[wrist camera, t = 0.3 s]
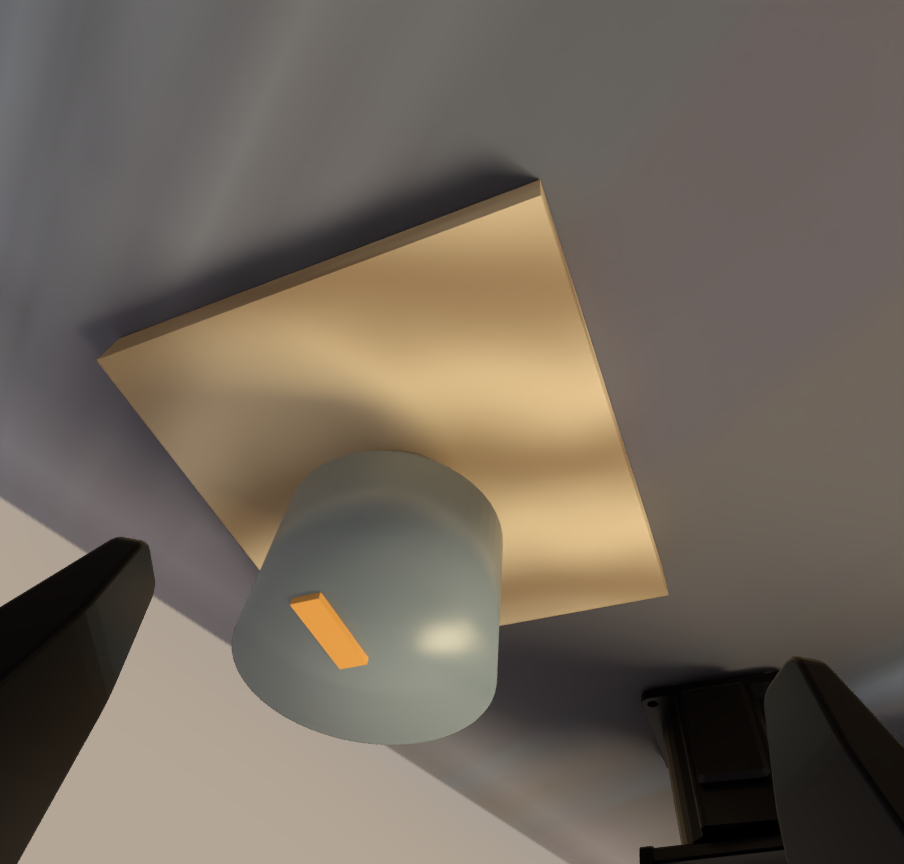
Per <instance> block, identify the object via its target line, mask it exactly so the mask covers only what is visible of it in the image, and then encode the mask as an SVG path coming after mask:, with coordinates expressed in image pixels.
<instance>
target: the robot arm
mask: <svg viewBox="0 0 904 864" xmlns="http://www.w3.org/2000/svg"><path fill="white" fill-rule="evenodd" d="M154 588H155V578H154V572H153V566H152V560H151V555H150V549H149V546H148V544H147V543H146V542H144V541H142V540H136V539H130V538H125V537H116V538H114V539H111V540H109V541H108V542H106V543H104V544H103V545H101V546H100V547H98V548H96V549H95V550H93V551H91V552H90V553H88V554H86V555H85V556H83V557H82V558H80V559H78V560H77V561H75V562H73V563H72V564H70V565H68V566H67V567H65V568H64V569H62V570H60V571H59V572H57V573H55V574H54V575H52V576H50V577H49V578H47V579H45V580H44V581H42V582H41V583H39V584H37V585H36V586H34V587H32V588H31V589H29V590H27V591H26V592H24V593H23V594H21V595H19V596H18V597H16V598H14V599H13V600H11V601H9V602H8V603H6V604H5V605H3V606H1V607H0V864H17V863H18V861H19V860H20V858H21V856H22V854H23V852H24V851H25V848H26V847H27V845H28V843H29V842H30V840H31V838H32V836H33V835H34V833H35V831H36V829H37V827H38V825H39V824H40V822H41V820H42V818H43V816H44V815H45V813H46V811H47V809H48V807H49V806H50V804H51V802H52V800H53V799H54V797H55V795H56V793H57V791H58V790H59V787H60V786H61V784H62V783H63V781H64V779H65V777H66V775H67V774H68V772H69V770H70V768H71V766H72V764H73V763H74V761H75V759H76V757H77V756H78V754H79V752H80V750H81V748H82V746H83V745H84V743H85V741H86V740H87V738H88V736H89V734H90V732H91V730H92V729H93V727H94V725H95V723H96V722H97V720H98V718H99V716H100V714H101V712H102V711H103V709H104V707H105V705H106V703H107V701H108V699H109V697H110V694H111V693H112V690H113V688H114V686H115V684H116V681H117V679H118V677H119V674H120V672H121V670H122V667H123V665H124V662H125V660H126V658H127V655H128V653H129V651H130V648H131V646H132V644H133V641H134V639H135V637H136V634H137V632H138V630H139V627H140V624H141V622H142V620H143V618H144V615H145V613H146V610H147V608H148V606H149V604H150V601H151V599H152V596H153V593H154ZM641 702H642V707H643V709H644V712H645V714H646V716H647V719H648V721H649V724H650V726H651V729H652V731H653V734H654V736H655V739H656V741H657V744H658V746H659V749H660V751H661V754H662V756H663V759H664V761H665V764H666V766H667V768H668V769H669V775H670V780H671V786H672V792H673V798H674V804H675V809H676V815H677V821H678V827H679V833H680V839H681V844H682V845H676V846H668V847H659V848H654V847H653V846H647V847H640V864H904V747H903V746H902V745H901V744H900V742H899V741H898V740H897V739H896V738H895V737H894V736H893V735H892V734H891V733H890V732H889V731H888V730H887V729H886V727H885V726H884V725H883V724H882V723H881V722H880V721H879V720H878V719H877V718H876V717H875V716H874V715H873V713H872V712H871V711H870V710H869V709H868V708H867V707H866V706H865V705H864V704H863V703H862V702H861V701H860V700H859V698H858V697H857V696H856V695H855V694H854V693H853V692H852V691H851V690H850V689H849V688H848V687H847V686H846V685H845V683H844V682H843V681H842V680H841V679H840V678H839V677H838V676H837V675H836V674H835V673H834V672H833V671H832V670H831V668H830V667H828V666H827V665H826V664H825V663H823V662H821V661H819V660H814V659H808V658H803V657H792V658H790V659H788V660H787V661H786V663H785V664H784V666H783V667H782V668H781V670H780V671H779V672H774V673H767V674H760V675H753V676H746V677H739V678H732V679H725V680H718V681H711V682H704V683H697V684H690V685H683V686H676V687H669V688H662V689H655V690H648V691H645V692H643V693H642V694H641Z"/></svg>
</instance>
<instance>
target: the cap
mask: <svg viewBox="0 0 904 864" xmlns="http://www.w3.org/2000/svg"><path fill="white" fill-rule="evenodd" d="M502 552H503V534H502V529H501V524H500V521H499V519H498V516H497V514H496V512H495V510H494V508H493V507H492V505H491V503H490V502H489V501H488V499H487V498H486V497H485V495H484V494H483V493H482V492H481V491H480V490H479V489H478V488H477V487H476V486H475V485H474V484H473V483H472V482H470V481H469V480H468V479H466V478H465V477H464V476H462V475H461V474H459V473H458V472H456V471H454V470H452V469H451V468H449V467H447V466H445V465H443V464H440V463H438V462H436V461H433V460H430V459H427V458H424V457H421V456H417V455H413V454H408V453H403V452H394V451H367V452H358V453H353V454H349V455H344V456H342V457H339V458H336V459H333V460H331V461H329V462H327V463H325V464H323V465H321V466H319V467H318V468H316V469H315V470H314V471H312V472H311V473H310V474H309V475H308V476H306V477H305V478H304V479H303V480H302V482H301V483H300V484H299V486H298V487H297V488H296V490H295V492H294V494H293V496H292V498H291V500H290V502H289V505H288V507H287V509H286V512H285V514H284V516H283V519H282V521H281V523H280V525H279V528H278V530H277V532H276V535H275V537H274V539H273V542H272V544H271V546H270V548H269V551H268V553H267V555H266V558H265V560H264V562H263V565H262V567H261V569H260V571H259V574H258V576H257V578H256V581H255V583H254V585H253V588H252V590H251V592H250V594H249V597H248V599H247V601H246V604H245V606H244V608H243V611H242V613H241V615H240V617H239V620H238V622H237V624H236V627H235V629H234V633H233V637H232V654H233V659H234V662H235V665H236V667H237V670H238V672H239V674H240V675H241V677H242V679H243V680H244V682H245V683H246V684H247V685H248V687H249V688H250V689H251V690H252V692H254V694H256V695H257V696H258V697H259V698H260V699H261V700H262V701H263V702H264V703H266V704H267V705H268V706H270V707H271V708H272V709H273V710H275V711H276V712H278V713H280V714H281V715H283V716H284V717H286V718H288V719H290V720H292V721H294V722H296V723H297V724H300V725H302V726H304V727H307V728H309V729H311V730H314V731H317V732H320V733H322V734H325V735H329V736H332V737H336V738H340V739H344V740H349V741H354V742H361V743H368V744H381V745H404V744H415V743H421V742H427V741H432V740H436V739H439V738H443V737H446V736H448V735H451V734H454V733H456V732H458V731H460V730H462V729H464V728H466V727H467V726H469V725H470V724H472V723H473V722H474V721H476V720H477V719H478V718H479V717H480V716H481V715H482V714H483V713H484V712H485V711H486V709H487V708H488V706H489V705H490V704H491V701H492V699H493V697H494V694H495V690H496V685H497V668H498V644H499V621H500V598H501V575H502Z"/></svg>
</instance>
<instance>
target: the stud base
mask: <svg viewBox="0 0 904 864" xmlns="http://www.w3.org/2000/svg"><path fill="white" fill-rule="evenodd" d="M97 362H98V363H99V364H100V366H101V367H102V368H103V369H104V371H105V372H106V373H107V375H108V376H109V377H110V378H111V380H112V381H113V382H114V384H115V385H116V386H117V387H118V389H119V390H120V391H121V393H122V394H123V395H124V396H125V398H126V399H127V400H128V402H129V403H130V404H131V405H132V407H133V408H134V409H135V411H136V412H137V413H138V414H139V416H140V417H141V418H142V420H143V421H144V422H145V423H146V425H147V426H148V427H149V429H150V430H151V431H152V432H153V434H154V435H155V436H156V438H157V439H158V440H159V441H160V443H161V444H162V445H163V447H164V448H165V449H166V450H167V452H168V453H169V454H170V456H171V457H172V458H173V459H174V461H175V462H176V463H177V465H178V466H179V467H180V468H181V470H182V471H183V472H184V474H185V475H186V476H187V477H188V479H189V480H190V481H191V483H192V484H193V485H194V486H195V488H196V489H197V490H198V492H199V493H200V494H201V495H202V497H203V498H204V499H205V501H206V502H207V503H208V504H209V506H210V507H211V508H212V510H213V511H214V512H215V513H216V515H217V516H218V517H219V519H220V520H221V521H222V522H223V524H224V525H225V526H226V528H227V529H228V530H229V532H230V533H231V534H232V535H233V537H234V538H235V539H236V541H237V542H238V543H239V544H240V546H241V547H242V548H243V550H244V551H245V552H246V553H247V555H248V556H249V557H250V559H251V560H252V561H253V562H254V564H255V565H256V566H257V568H258V569H259V570H260V569H261V567H262V565H263V562H264V560H265V558H266V555H267V553H268V551H269V548H270V546H271V544H272V542H273V539H274V537H275V535H276V532H277V530H278V528H279V525H280V523H281V521H282V519H283V516H284V514H285V512H286V509H287V507H288V505H289V502H290V500H291V498H292V496H293V494H294V492H295V490H296V488H297V487H298V486H299V484H300V483H301V482H302V480H303V479H304V478H305V477H306V476H308V475H309V474H310V473H311V472H312V471H314V470H315V469H316V468H318V467H319V466H321V465H323V464H325V463H327V462H329V461H331V460H333V459H336V458H339V457H342V456H344V455H349V454H353V453H358V452H367V451H394V452H403V453H408V454H413V455H417V456H421V457H424V458H427V459H430V460H433V461H436V462H438V463H440V464H443V465H445V466H447V467H449V468H451V469H452V470H454V471H456V472H458V473H459V474H461V475H462V476H464V477H465V478H466V479H468V480H469V481H470V482H472V483H473V484H474V485H475V486H476V487H477V488H478V489H479V490H480V491H481V492H482V493H483V494H484V495H485V497H486V498H487V499H488V501H489V502H490V503H491V505H492V507H493V508H494V510H495V512H496V514H497V516H498V519H499V521H500V524H501V529H502V534H503V552H502V575H501V598H500V621H499V626H501V625H507V624H512V623H518V622H523V621H529V620H534V619H540V618H545V617H551V616H556V615H562V614H567V613H573V612H578V611H584V610H589V609H595V608H600V607H606V606H611V605H617V604H622V603H628V602H633V601H639V600H645V599H650V598H656V597H661V596H667V595H668V590H667V586H666V581H665V577H664V572H663V568H662V564H661V561H660V558H659V554H658V551H657V548H656V545H655V542H654V539H653V535H652V532H651V529H650V526H649V523H648V520H647V516H646V513H645V510H644V507H643V504H642V501H641V497H640V494H639V491H638V488H637V485H636V482H635V478H634V475H633V472H632V469H631V466H630V463H629V459H628V456H627V453H626V450H625V447H624V444H623V440H622V437H621V434H620V431H619V428H618V425H617V421H616V418H615V415H614V412H613V409H612V406H611V403H610V399H609V396H608V393H607V390H606V387H605V384H604V380H603V377H602V374H601V371H600V368H599V365H598V361H597V358H596V355H595V352H594V349H593V346H592V342H591V339H590V336H589V333H588V330H587V327H586V323H585V320H584V317H583V314H582V311H581V308H580V304H579V301H578V298H577V295H576V292H575V289H574V285H573V282H572V279H571V276H570V273H569V270H568V266H567V263H566V260H565V257H564V254H563V251H562V247H561V244H560V241H559V238H558V235H557V232H556V228H555V225H554V222H553V219H552V216H551V213H550V209H549V206H548V203H547V200H546V197H545V194H544V190H543V187H542V184H541V181H540V180H537V181H535V182H532V183H529V184H527V185H524V186H522V187H519V188H516V189H514V190H511V191H508V192H506V193H503V194H500V195H498V196H495V197H492V198H490V199H487V200H484V201H482V202H479V203H477V204H474V205H471V206H469V207H466V208H463V209H461V210H458V211H455V212H453V213H450V214H447V215H445V216H442V217H439V218H437V219H434V220H432V221H429V222H426V223H424V224H421V225H418V226H416V227H413V228H410V229H408V230H405V231H402V232H400V233H397V234H394V235H392V236H389V237H387V238H384V239H381V240H379V241H376V242H373V243H371V244H368V245H365V246H363V247H360V248H357V249H355V250H352V251H350V252H347V253H344V254H342V255H339V256H336V257H334V258H331V259H328V260H326V261H323V262H320V263H318V264H315V265H312V266H310V267H307V268H305V269H302V270H299V271H297V272H294V273H291V274H289V275H286V276H283V277H281V278H278V279H275V280H273V281H270V282H267V283H265V284H262V285H260V286H257V287H254V288H252V289H249V290H246V291H244V292H241V293H238V294H236V295H233V296H230V297H228V298H225V299H222V300H220V301H217V302H215V303H212V304H209V305H207V306H204V307H201V308H199V309H196V310H193V311H191V312H188V313H185V314H183V315H180V316H177V317H175V318H172V319H170V320H167V321H164V322H162V323H159V324H156V325H154V326H151V327H148V328H146V329H143V330H140V331H138V332H135V333H132V334H130V335H127V336H125V337H122V338H119V339H118V340H117V341H116V342H115V343H114V344H113V345H112V346H111V347H110V348H109V349H108V350H106V351H105V352H104V353H103V354H102V355H101V356H100V357H99V358H98V359H97Z"/></svg>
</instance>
